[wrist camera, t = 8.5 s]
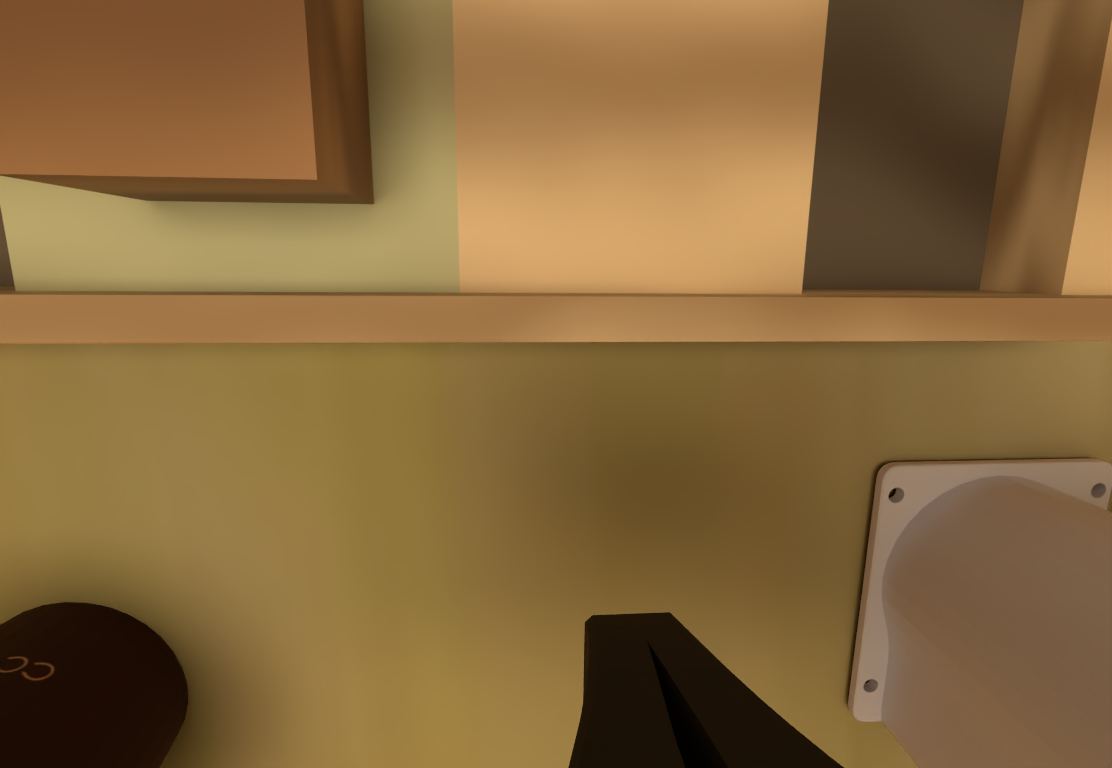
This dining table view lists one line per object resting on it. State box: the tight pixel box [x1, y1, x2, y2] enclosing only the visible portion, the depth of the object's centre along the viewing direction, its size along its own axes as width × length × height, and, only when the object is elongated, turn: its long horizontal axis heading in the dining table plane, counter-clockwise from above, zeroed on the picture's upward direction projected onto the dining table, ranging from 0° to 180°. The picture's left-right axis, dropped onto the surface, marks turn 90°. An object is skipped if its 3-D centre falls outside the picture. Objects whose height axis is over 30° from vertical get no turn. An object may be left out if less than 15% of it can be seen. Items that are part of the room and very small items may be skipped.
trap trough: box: [0, 0, 1112, 344], centre depth 14 cm, size 11×36×4 cm, turn 90°
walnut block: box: [0, 0, 374, 204], centre depth 11 cm, size 5×5×4 cm
